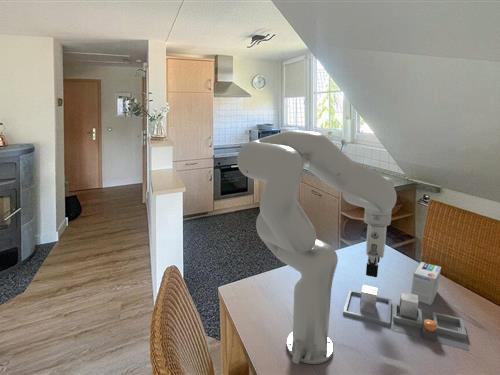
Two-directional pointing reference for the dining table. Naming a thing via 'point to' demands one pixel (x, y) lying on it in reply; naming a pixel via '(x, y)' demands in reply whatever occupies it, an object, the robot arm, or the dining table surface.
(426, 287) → the light bulb box
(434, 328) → the button
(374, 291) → the block
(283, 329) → the dining table surface
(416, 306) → the block
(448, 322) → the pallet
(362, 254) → the dining table surface
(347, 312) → the tray
